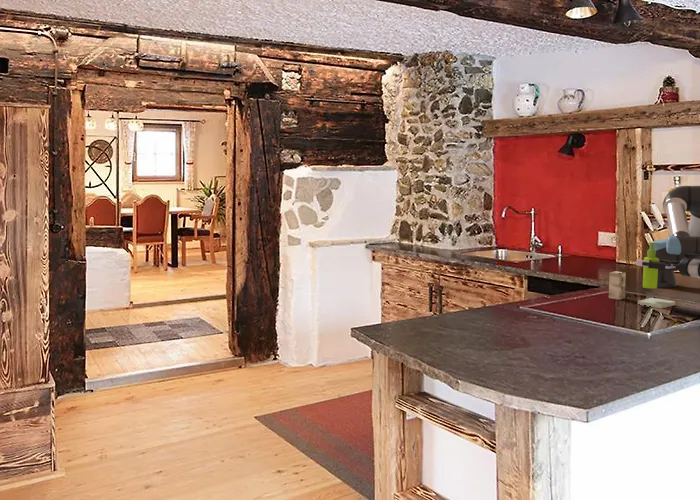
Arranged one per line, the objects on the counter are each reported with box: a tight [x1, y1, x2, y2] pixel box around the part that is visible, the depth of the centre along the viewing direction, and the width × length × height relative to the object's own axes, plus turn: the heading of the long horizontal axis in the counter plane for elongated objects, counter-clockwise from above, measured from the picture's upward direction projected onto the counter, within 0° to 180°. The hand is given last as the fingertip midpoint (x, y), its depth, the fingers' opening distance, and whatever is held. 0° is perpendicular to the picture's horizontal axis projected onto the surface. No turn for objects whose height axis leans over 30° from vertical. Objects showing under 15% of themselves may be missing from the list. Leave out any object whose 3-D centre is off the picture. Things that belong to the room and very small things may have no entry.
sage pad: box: [637, 297, 676, 309], centre depth 293 cm, size 11×11×2 cm
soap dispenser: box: [642, 241, 662, 289], centre depth 293 cm, size 6×7×20 cm
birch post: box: [608, 270, 627, 301], centre depth 308 cm, size 5×5×12 cm
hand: (641, 261), depth 297 cm, fingers closed on soap dispenser, 6 cm apart
